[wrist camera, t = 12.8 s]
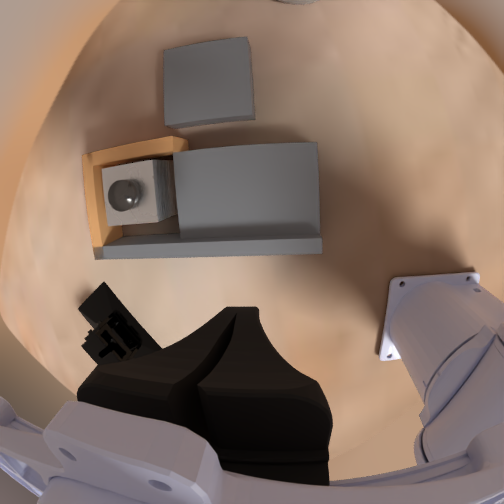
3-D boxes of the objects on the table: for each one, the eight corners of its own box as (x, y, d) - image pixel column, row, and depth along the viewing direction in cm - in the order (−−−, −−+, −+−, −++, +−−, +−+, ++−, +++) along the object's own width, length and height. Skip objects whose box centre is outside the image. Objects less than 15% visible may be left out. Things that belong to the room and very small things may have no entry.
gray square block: (250, 47, 17) (247, 36, 15) (255, 119, 19) (252, 114, 17) (173, 59, 18) (163, 50, 16) (174, 129, 20) (164, 125, 18)
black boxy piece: (188, 361, 26) (173, 392, 22) (144, 385, 28) (128, 412, 24) (101, 262, 24) (72, 279, 20) (68, 300, 26) (42, 319, 22)
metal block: (174, 160, 21) (145, 159, 16) (179, 212, 22) (151, 225, 17) (129, 167, 21) (93, 169, 16) (134, 216, 22) (100, 229, 17)
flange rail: (312, 131, 19) (318, 124, 16) (316, 241, 21) (322, 253, 18) (104, 155, 21) (81, 155, 18) (115, 248, 23) (95, 259, 20)
